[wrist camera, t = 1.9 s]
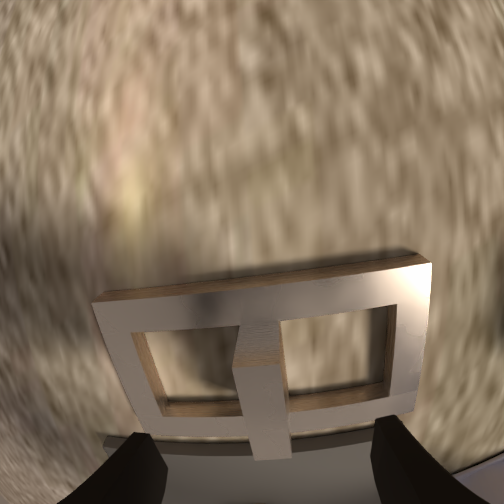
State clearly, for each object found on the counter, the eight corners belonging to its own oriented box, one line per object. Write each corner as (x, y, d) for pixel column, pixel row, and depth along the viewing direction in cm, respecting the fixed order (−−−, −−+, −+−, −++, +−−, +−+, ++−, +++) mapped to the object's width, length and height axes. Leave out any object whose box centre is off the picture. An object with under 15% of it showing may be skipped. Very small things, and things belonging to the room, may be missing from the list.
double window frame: (419, 253, 12) (467, 290, 9) (406, 396, 15) (430, 449, 11) (103, 292, 14) (57, 334, 10) (152, 419, 16) (130, 471, 12)
